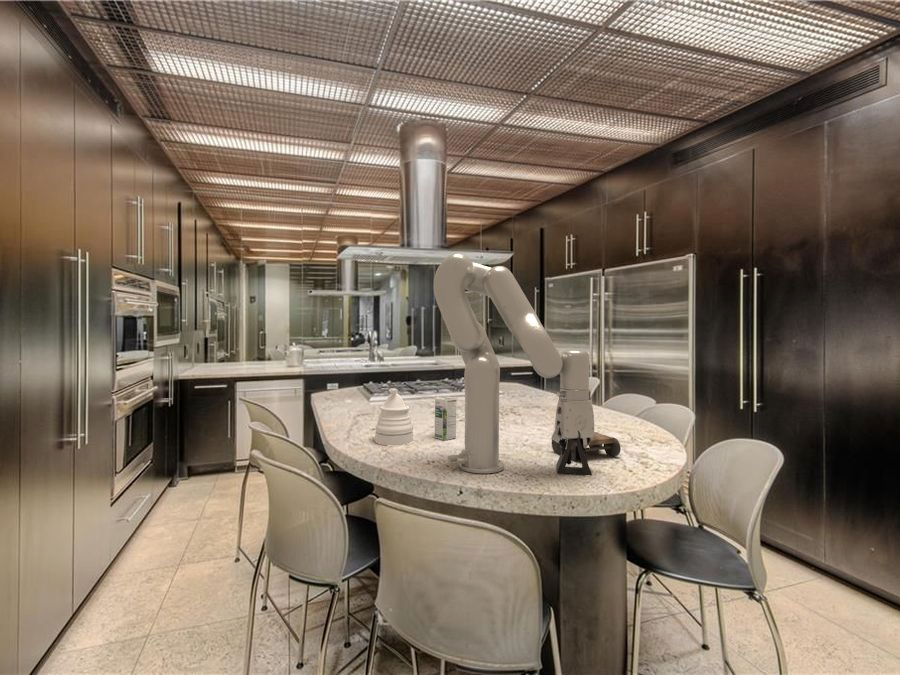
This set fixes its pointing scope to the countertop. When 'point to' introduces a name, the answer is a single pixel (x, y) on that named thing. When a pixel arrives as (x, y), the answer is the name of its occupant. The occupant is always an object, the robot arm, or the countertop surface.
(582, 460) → the dark brown a-frame stand
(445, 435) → the syrup box
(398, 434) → the honey pot
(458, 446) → the countertop surface
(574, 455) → the trolley
